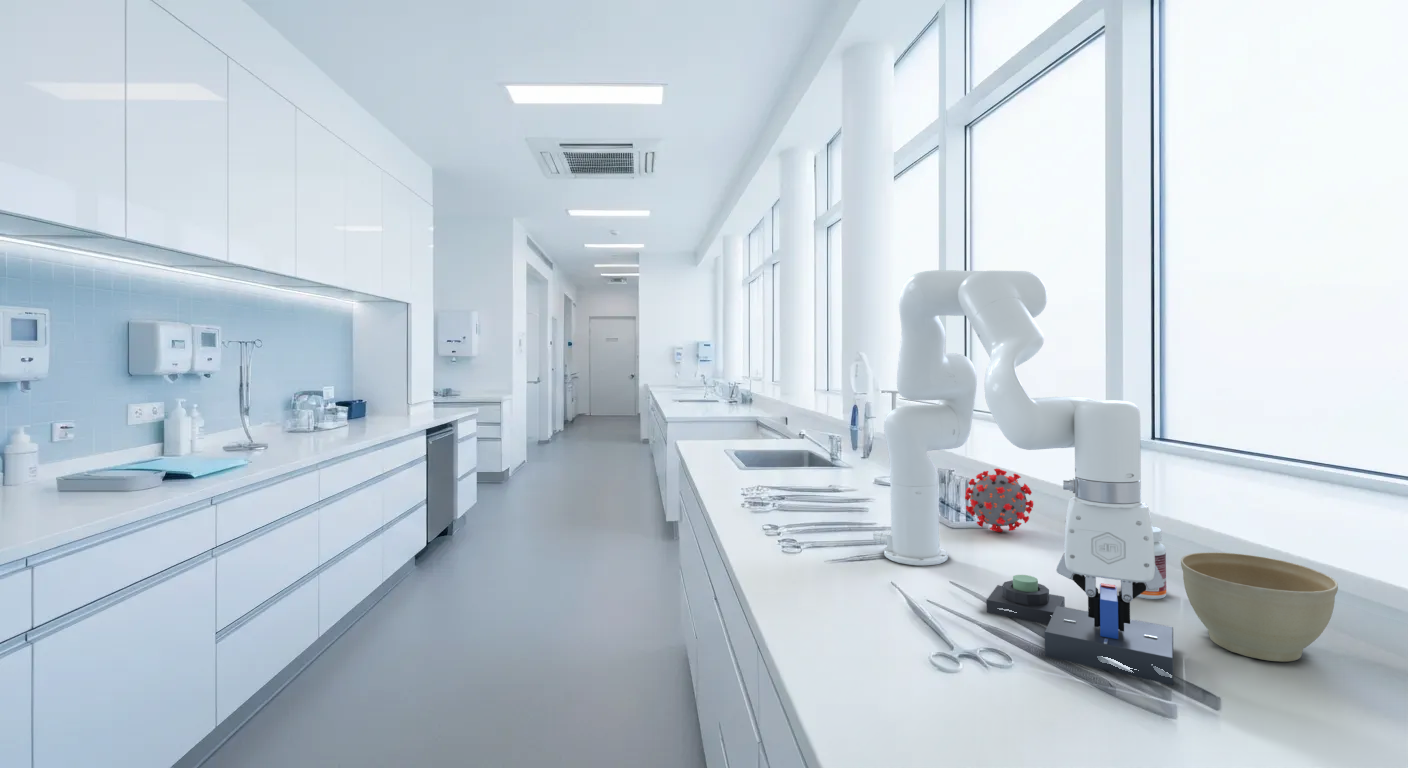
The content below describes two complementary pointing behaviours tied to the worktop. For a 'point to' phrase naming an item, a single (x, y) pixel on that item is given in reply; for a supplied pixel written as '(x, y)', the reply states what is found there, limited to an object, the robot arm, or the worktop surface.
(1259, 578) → the planter bowl
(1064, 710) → the worktop surface
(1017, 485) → the virus model
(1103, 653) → the panel
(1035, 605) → the block
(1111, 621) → the blue flat block
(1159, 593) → the pill bottle
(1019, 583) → the button
